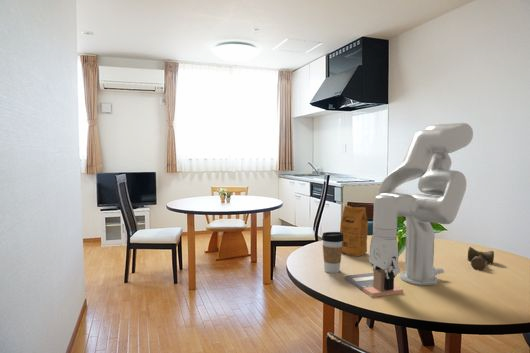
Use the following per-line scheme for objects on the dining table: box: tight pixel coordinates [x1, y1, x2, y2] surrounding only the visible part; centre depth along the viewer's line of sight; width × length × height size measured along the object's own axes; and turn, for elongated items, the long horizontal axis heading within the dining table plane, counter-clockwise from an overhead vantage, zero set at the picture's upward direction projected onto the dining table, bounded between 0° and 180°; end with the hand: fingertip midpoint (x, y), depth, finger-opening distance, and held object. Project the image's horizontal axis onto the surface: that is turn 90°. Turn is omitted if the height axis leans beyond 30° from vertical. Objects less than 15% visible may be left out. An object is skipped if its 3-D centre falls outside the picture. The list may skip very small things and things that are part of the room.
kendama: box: [467, 246, 495, 271], centre depth 150 cm, size 6×10×20 cm
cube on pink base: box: [362, 269, 404, 298], centre depth 118 cm, size 12×5×7 cm, turn 107°
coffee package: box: [339, 204, 369, 257], centre depth 164 cm, size 10×12×22 cm
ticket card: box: [344, 272, 374, 292], centre depth 126 cm, size 12×12×1 cm
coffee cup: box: [321, 231, 344, 274], centre depth 139 cm, size 8×8×15 cm
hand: (383, 285), depth 118 cm, fingers open, 5 cm apart
